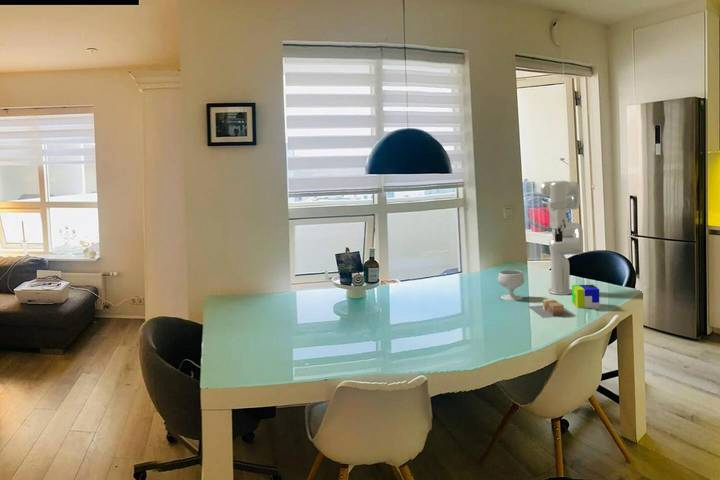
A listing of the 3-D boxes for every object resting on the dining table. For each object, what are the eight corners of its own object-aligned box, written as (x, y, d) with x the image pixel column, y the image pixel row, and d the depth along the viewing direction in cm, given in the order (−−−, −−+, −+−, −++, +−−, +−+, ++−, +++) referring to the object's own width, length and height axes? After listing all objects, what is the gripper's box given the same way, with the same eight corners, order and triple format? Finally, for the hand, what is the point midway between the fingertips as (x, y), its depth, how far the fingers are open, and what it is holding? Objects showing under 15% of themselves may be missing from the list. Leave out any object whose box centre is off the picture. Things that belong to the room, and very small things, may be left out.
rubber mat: (527, 307, 231) (527, 306, 231) (558, 305, 231) (558, 304, 231) (542, 319, 211) (542, 317, 211) (576, 316, 211) (576, 315, 211)
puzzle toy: (599, 309, 221) (599, 289, 220) (577, 309, 223) (577, 289, 222) (593, 303, 231) (592, 284, 229) (572, 303, 233) (572, 285, 231)
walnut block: (542, 299, 224) (553, 306, 212) (552, 298, 224) (563, 305, 212) (543, 309, 224) (553, 316, 213) (553, 308, 224) (563, 315, 212)
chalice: (530, 298, 248) (529, 271, 246) (514, 303, 240) (513, 276, 239) (508, 294, 260) (508, 268, 258) (493, 298, 252) (492, 272, 250)
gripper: (545, 205, 235) (545, 240, 237) (557, 207, 220) (557, 244, 222) (559, 204, 235) (559, 239, 237) (572, 206, 220) (572, 243, 222)
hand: (558, 241), depth 230 cm, fingers closed
